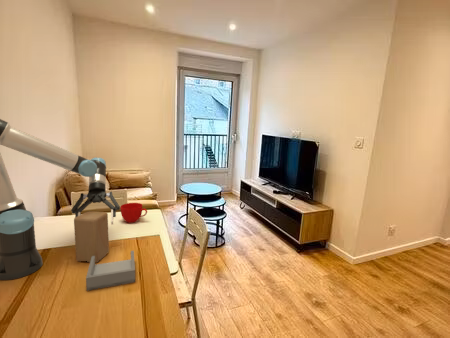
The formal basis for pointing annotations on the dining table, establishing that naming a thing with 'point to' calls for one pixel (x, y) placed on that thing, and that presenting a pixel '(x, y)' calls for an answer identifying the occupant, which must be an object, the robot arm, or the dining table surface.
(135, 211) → the ceramic cup
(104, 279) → the end cap cradle
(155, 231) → the dining table surface
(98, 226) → the wooden block
